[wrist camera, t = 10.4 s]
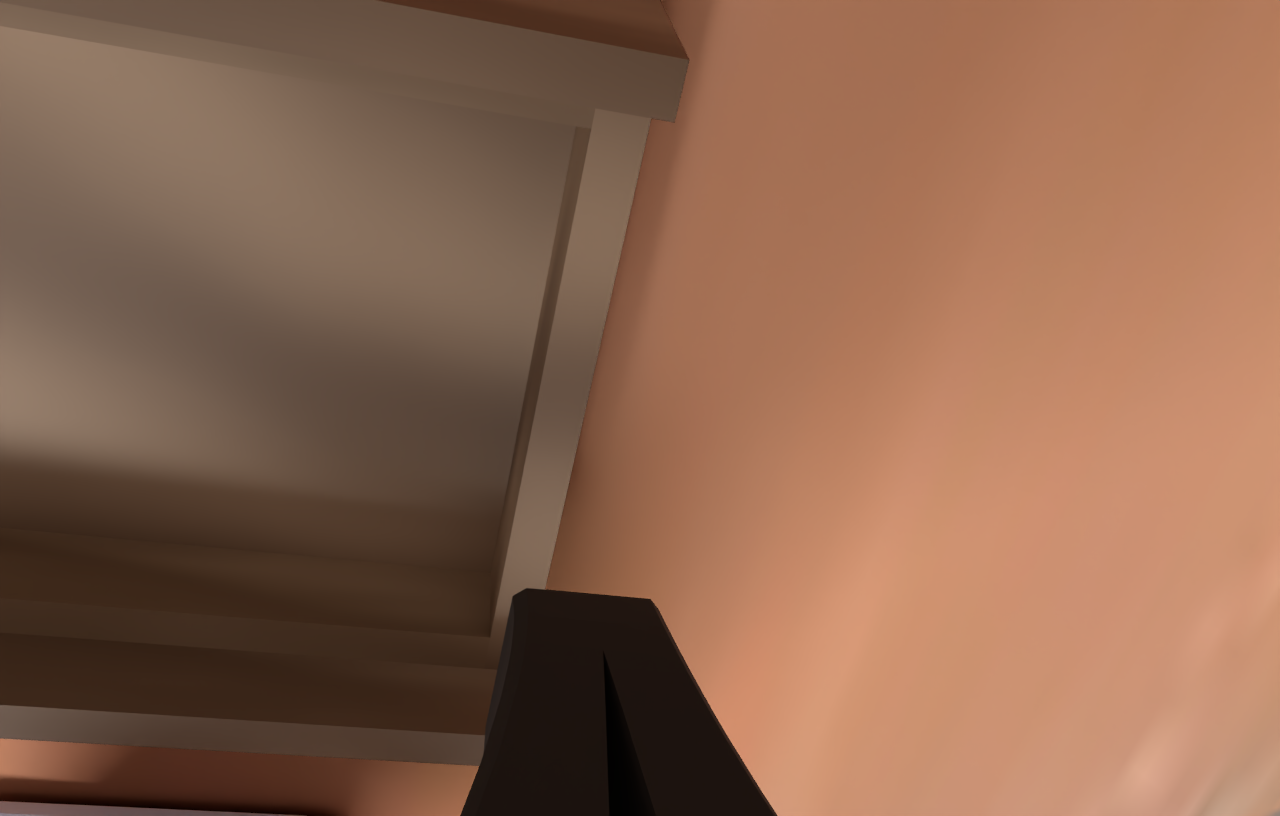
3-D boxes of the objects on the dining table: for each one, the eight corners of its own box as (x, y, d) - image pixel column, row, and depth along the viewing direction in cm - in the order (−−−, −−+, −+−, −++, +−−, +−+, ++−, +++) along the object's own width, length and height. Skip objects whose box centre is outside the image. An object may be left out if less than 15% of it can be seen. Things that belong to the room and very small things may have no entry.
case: (517, 614, 24) (521, 767, 21) (-358, 540, 21) (-519, 707, 17) (651, -17, 17) (689, 60, 14) (-608, -272, 14) (-947, -252, 11)
